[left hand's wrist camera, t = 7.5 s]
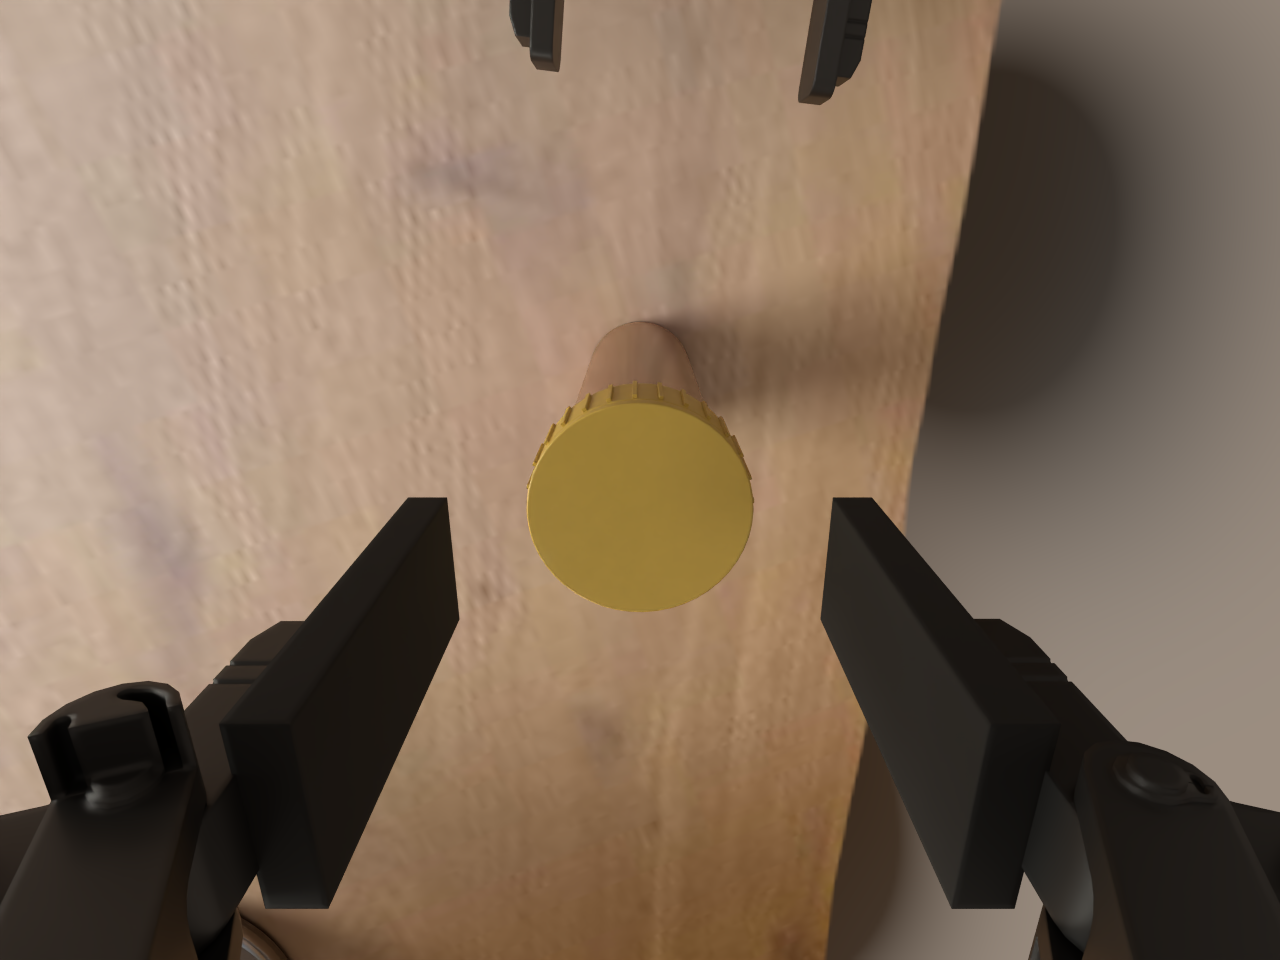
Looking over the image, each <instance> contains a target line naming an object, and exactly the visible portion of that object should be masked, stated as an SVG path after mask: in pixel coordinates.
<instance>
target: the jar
mask: <svg viewBox="0 0 1280 960" xmlns="http://www.w3.org/2000/svg"><path fill="white" fill-rule="evenodd" d="M633 381H637V383H644V384H656V385H657V383H658V382H660V383H662V386H666V387H670V388H673V389H676V390H679V391H681V389H684V390H685V391H686V394H688V395H690V396H692V397H693V398H695V399H697V400H698V401H700V402H702V401H703V398H702V395H701V392H700V390H699V387H698V384H697V381H696V378H695V375H694V373H693V370H692V367H691V364H690V361H689V358H688V356H687V353H686V351H685V349H684V347H683V345H682V344H681V342H680V341H679V340H678V339H677V338H676V336H675V335H673V334H672V333H671V332H670V331H668V330H667V329H665V328H663V327H661V326H659V325H656V324H653V323H648V322H632V323H628V324H624V325H621V326H619V327H617V328H615V329H613V330H612V331H610V332H609V333H608V334H607V335H606V336H605V337H603V339H602V340H601V341H600V342H599V344H598V345H597V347H596V349H595V351H594V353H593V355H592V358H591V361H590V364H589V367H588V370H587V372H586V375H585V378H584V381H583V384H582V387H581V389H580V392H579V395H578V398H577V401H576V404H578V403H579V402H580V401H582V400H583V399H585V396H586V394H588V393H590V394H591V395H592V394H594V393H596V392H599V391H601V390H604V389H607V388H608V386H609V385H611V384H613V387H614V386H619V385H623V384H633ZM576 404H575V405H576Z"/></svg>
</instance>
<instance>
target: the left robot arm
mask: <svg viewBox="0 0 1280 960" xmlns="http://www.w3.org/2000/svg"><path fill="white" fill-rule="evenodd" d="M458 621H459V610H458V600H457V590H456V581H455V571H454V561H453V551H452V542H451V532H450V522H449V512H448V502H447V498H407V500H406V501H405V502H404V503H403V504H402V505H401V507H400V508H399V509H398V510H397V511H396V513H395V514H394V515H393V516H392V517H391V519H390V520H389V521H388V522H387V523H386V525H385V526H384V527H383V528H382V529H381V531H380V532H379V533H378V534H377V535H376V537H375V538H374V539H373V540H372V541H371V542H370V544H369V545H368V546H367V547H366V548H365V550H364V551H363V552H362V553H361V554H360V556H359V557H358V558H357V559H356V560H355V562H354V563H353V564H352V565H351V566H350V568H349V569H348V570H347V571H346V572H345V574H344V575H343V576H342V577H341V578H340V579H339V581H338V582H337V583H336V584H335V585H334V587H333V588H332V589H331V590H330V591H329V593H328V594H327V595H326V596H325V597H324V599H323V600H322V601H321V602H320V603H319V605H318V606H317V607H316V608H315V609H314V611H313V612H312V613H311V614H310V615H309V616H308V618H307V619H306V620H305V621H280V622H279V623H277V624H275V625H274V626H272V627H270V628H269V629H267V630H266V631H264V632H262V633H261V634H259V635H257V636H256V637H254V638H252V639H251V640H250V641H249V642H248V643H247V644H246V645H245V646H244V647H243V648H242V649H241V650H240V651H239V652H238V654H237V655H236V656H235V657H234V658H233V659H232V660H231V661H230V666H225V668H224V669H223V670H222V671H221V672H220V673H219V674H218V675H217V676H216V677H215V678H214V679H213V684H209V685H208V686H207V687H206V688H205V689H204V690H203V691H202V692H201V693H200V694H199V695H198V697H197V698H196V699H195V700H194V701H193V702H192V703H191V704H190V705H189V706H188V707H187V708H186V709H185V711H184V709H183V705H182V701H181V698H180V694H179V692H178V691H177V690H175V689H174V688H173V687H171V686H170V685H169V684H165V683H158V682H151V681H144V682H135V683H125V684H120V685H117V686H113V687H109V688H106V689H102V690H99V691H95V692H93V693H90V694H88V695H86V696H84V697H81V698H79V699H77V700H75V701H73V702H70V703H68V704H66V705H65V706H63V707H61V708H60V709H58V710H57V711H55V712H54V713H52V714H51V715H49V716H48V717H46V718H45V719H43V720H42V721H41V722H40V724H39V725H38V726H37V727H36V728H35V729H34V730H33V731H32V732H31V733H30V735H29V736H28V739H29V742H30V745H31V747H32V750H33V753H34V755H35V758H36V761H37V764H38V766H39V769H40V772H41V774H42V777H43V780H44V782H45V785H46V788H47V790H48V793H49V796H50V799H51V803H50V804H49V805H46V806H41V807H37V808H32V809H28V810H23V811H19V812H14V813H10V814H5V815H1V816H0V960H288V959H287V958H286V956H285V955H284V953H283V952H282V951H281V950H280V948H279V947H278V946H277V945H276V944H275V943H274V942H273V941H272V940H271V939H270V938H269V937H268V936H267V935H266V934H264V933H263V932H262V931H261V930H259V929H258V928H257V927H255V926H254V925H252V924H251V923H249V922H248V921H246V920H244V919H243V918H241V917H240V914H239V911H238V907H237V906H238V905H239V903H240V901H241V900H242V898H243V896H244V894H245V893H246V891H247V889H248V888H249V886H250V884H251V882H252V881H253V879H254V877H255V876H256V874H257V877H258V881H259V885H260V889H261V893H262V897H263V901H264V905H265V909H328V908H329V906H330V904H331V902H332V899H333V897H334V895H335V893H336V891H337V888H338V886H339V884H340V882H341V880H342V877H343V875H344V873H345V871H346V869H347V866H348V864H349V862H350V860H351V857H352V855H353V853H354V851H355V849H356V846H357V844H358V842H359V840H360V838H361V835H362V833H363V831H364V829H365V827H366V824H367V822H368V820H369V818H370V816H371V813H372V811H373V809H374V807H375V805H376V802H377V800H378V798H379V796H380V793H381V791H382V789H383V787H384V785H385V782H386V780H387V778H388V776H389V774H390V771H391V769H392V767H393V765H394V763H395V760H396V758H397V756H398V754H399V752H400V749H401V747H402V745H403V743H404V741H405V738H406V736H407V734H408V732H409V729H410V727H411V725H412V723H413V721H414V718H415V716H416V714H417V712H418V710H419V707H420V705H421V703H422V701H423V699H424V696H425V694H426V692H427V690H428V688H429V685H430V683H431V681H432V679H433V677H434V674H435V672H436V670H437V668H438V665H439V663H440V661H441V659H442V657H443V654H444V652H445V650H446V648H447V646H448V643H449V641H450V639H451V637H452V635H453V632H454V630H455V628H456V626H457V624H458ZM821 621H822V624H823V626H824V628H825V630H826V632H827V635H828V637H829V639H830V641H831V643H832V646H833V648H834V650H835V652H836V654H837V657H838V659H839V661H840V663H841V665H842V668H843V670H844V672H845V674H846V677H847V679H848V681H849V683H850V685H851V688H852V690H853V692H854V694H855V696H856V699H857V701H858V703H859V705H860V707H861V710H862V712H863V714H864V716H865V718H866V721H867V723H868V725H869V727H870V729H871V732H872V734H873V736H874V738H875V740H876V743H877V745H878V747H879V749H880V752H881V754H882V756H883V758H884V760H885V763H886V765H887V767H888V769H889V771H890V773H891V776H892V778H893V780H894V782H895V785H896V787H897V789H898V791H899V793H900V796H901V798H902V800H903V802H904V805H905V807H906V809H907V811H908V813H909V816H910V818H911V820H912V822H913V824H914V826H915V829H916V831H917V833H918V835H919V838H920V840H921V842H922V844H923V846H924V849H925V851H926V853H927V855H928V857H929V860H930V862H931V864H932V866H933V869H934V871H935V873H936V875H937V877H938V879H939V882H940V884H941V886H942V888H943V891H944V893H945V895H946V897H947V899H948V901H949V904H950V906H951V908H952V909H1014V908H1015V905H1016V901H1017V897H1018V893H1019V889H1020V885H1021V881H1022V877H1023V873H1024V872H1025V874H1026V875H1027V877H1028V879H1029V880H1030V882H1031V884H1032V886H1033V887H1034V889H1035V891H1036V892H1037V894H1038V896H1039V897H1040V899H1041V901H1042V902H1043V907H1042V911H1041V914H1040V918H1039V922H1038V925H1037V929H1036V933H1035V936H1034V940H1033V944H1032V947H1031V951H1030V955H1029V959H1028V960H1280V812H1276V811H1272V810H1267V809H1263V808H1258V807H1253V806H1249V805H1244V804H1240V803H1235V802H1232V801H1229V799H1228V798H1227V797H1226V796H1225V794H1224V793H1223V792H1222V790H1221V789H1220V788H1219V786H1218V785H1217V784H1216V783H1215V782H1214V781H1213V780H1212V779H1211V778H1209V777H1208V776H1207V775H1205V774H1204V773H1203V772H1201V771H1200V770H1199V769H1198V768H1196V767H1195V766H1194V765H1192V764H1190V763H1188V762H1186V761H1184V760H1182V759H1180V758H1178V757H1176V756H1174V755H1173V754H1171V753H1169V752H1167V751H1164V750H1161V749H1158V748H1154V747H1151V746H1148V745H1145V744H1142V743H1138V742H1130V741H1127V740H1126V739H1125V738H1124V737H1123V736H1122V735H1121V734H1120V733H1119V732H1118V731H1117V730H1116V728H1115V727H1114V726H1113V725H1112V724H1111V723H1110V722H1109V721H1108V720H1107V719H1106V718H1105V717H1104V716H1103V715H1102V714H1101V712H1100V711H1099V710H1098V709H1097V708H1096V707H1095V706H1094V705H1093V704H1092V703H1091V702H1090V701H1089V700H1088V699H1087V698H1086V696H1085V695H1084V694H1083V693H1082V692H1081V691H1080V690H1079V689H1078V688H1077V687H1076V686H1075V685H1074V684H1073V683H1072V682H1068V680H1067V676H1066V675H1065V674H1064V673H1063V672H1062V671H1061V670H1060V669H1059V668H1058V667H1057V665H1056V664H1055V663H1051V662H1050V658H1049V657H1048V656H1047V655H1046V654H1045V653H1044V652H1043V651H1042V649H1041V648H1040V647H1039V646H1038V645H1037V644H1036V643H1035V642H1034V641H1033V640H1032V639H1031V638H1030V637H1029V636H1027V635H1025V634H1024V633H1022V632H1020V631H1019V630H1017V629H1015V628H1014V627H1012V626H1010V625H1009V624H1007V623H1006V622H1004V621H1002V620H1001V619H973V618H972V617H971V615H970V614H969V613H968V612H967V611H966V609H965V608H964V607H963V606H962V605H961V603H960V602H959V601H958V600H957V599H956V597H955V596H954V595H953V594H952V593H951V591H950V590H949V589H948V588H947V587H946V585H945V584H944V583H943V582H942V581H941V580H940V578H939V577H938V576H937V575H936V574H935V572H934V571H933V570H932V569H931V568H930V566H929V565H928V564H927V563H926V562H925V560H924V559H923V558H922V557H921V556H920V554H919V553H918V552H917V551H916V550H915V548H914V547H913V546H912V545H911V544H910V542H909V541H908V540H907V539H906V538H905V537H904V535H903V534H902V533H901V532H900V531H899V529H898V528H897V527H896V526H895V525H894V523H893V522H892V521H891V520H890V519H889V517H888V516H887V515H886V514H885V513H884V511H883V510H882V509H881V508H880V507H879V505H878V504H877V503H876V502H875V501H874V500H873V498H833V502H832V512H831V522H830V532H829V541H828V551H827V561H826V571H825V581H824V590H823V600H822V610H821Z"/></svg>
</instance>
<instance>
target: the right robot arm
mask: <svg viewBox="0 0 1280 960" xmlns="http://www.w3.org/2000/svg"><path fill="white" fill-rule="evenodd" d="M871 3H872V0H814V1H813V7H812V13H811V19H810V25H809V31H808V37H807V43H806V50H805V56H804V62H803V68H802V74H801V80H800V86H799V93H798V102H799V103H807V104H815V105H821V104H823V103H824V102H826V101H827V100H829V99H830V98H831V97H832V94H833V92H834V89H835V86H840V85H841V84H843V83H844V82H846V81H847V80H849V79H850V78H851V77H852V75H853V73H854V71H855V70H856V68H857V66H858V64H859V62H860V61H861V56H862V50H863V45H864V38H865V34H866V29H867V22H868V19H869V13H870V8H871ZM563 11H564V0H510V9H509V16H510V19H511V23H512V26H513V30H514V33H515V36H516V37H517V39H518V40H519V42H520V43H521V45H522V46H523V47H530V58H531V61H532V63H533V64H534V66H535V67H536V69H538V70H546V71H554V72H559V69H560V61H561V45H562V28H563Z"/></svg>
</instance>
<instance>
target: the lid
mask: <svg viewBox="0 0 1280 960" xmlns="http://www.w3.org/2000/svg"><path fill="white" fill-rule="evenodd" d="M743 457H744V455H743V453H742V451H741V448H740V446H739V444H738V442H737V439H736V437H735V435H733V436H731V435H730V433H729V431H728V429H727V426H726V424H725V422H724V419H723V418H722V417H721V416H720V417H719V418H718V417H717V416H716V415H715V414H714V413H713V412H712V411H711V410H710V409H709V408H708V406H707V403H706V402H705V401H702V402H700V401H698V400H697V399H695V398H693V397H692V396H690V395H688V394H686V391H685V390H684V389H681V391H679V390H676V389H673V388H670V387H666V386H662V383H660V382H658V383H657V385H656V384H644V383H637V381H633V384H623V385H619V386H614V387H613V384H611V385H609V386H608V388H607V389H604V390H601V391H599V392H596V393H594V394H592V395H591V394H590V393H588V394H586V396H585V399H583V400H582V401H580V402H579V403H578V404H576V405H575V406H573V407H572V408H571V407H570V406H569V407H568V408H567V409H566V411H565V414H564V416H563V417H562V418H561V419H560V420H559V422H558V423H557V424H556V425H555V424H554V423H553V424H552V426H551V428H550V430H549V432H548V435H547V437H546V439H545V442H544V444H541V446H540V449H539V451H538V453H537V455H536V458H535V460H534V462H533V466H535V468H534V470H533V472H532V475H531V477H530V479H529V482H528V484H527V489H528V496H527V519H528V525H529V530H530V534H531V537H532V540H533V543H534V545H535V547H536V549H537V552H538V554H539V555H540V557H541V559H542V560H543V562H544V563H545V565H546V566H547V568H548V569H549V570H550V571H551V572H552V573H553V575H554V576H555V577H556V578H557V579H558V580H559V581H560V582H562V583H563V584H564V585H565V586H566V587H567V588H569V589H570V590H572V591H573V592H574V593H576V594H577V595H579V596H581V597H583V598H585V599H587V600H588V601H591V602H593V603H596V604H598V605H601V606H604V607H608V608H611V609H615V610H622V611H629V612H649V611H659V610H664V609H669V608H673V607H676V606H679V605H682V604H685V603H687V602H689V601H691V600H693V599H696V598H697V597H699V596H701V595H702V594H704V593H706V592H707V591H709V590H710V589H711V588H713V587H714V586H715V585H716V584H718V583H719V582H720V581H721V580H722V579H723V578H724V577H725V576H726V575H727V574H728V573H729V571H730V570H731V569H732V567H733V566H734V565H735V563H736V562H737V561H738V559H739V557H740V555H741V554H742V552H743V550H744V548H745V545H746V543H747V540H748V538H749V534H750V530H751V526H752V519H753V503H754V498H753V494H752V489H751V483H750V480H751V479H752V478H751V474H750V472H749V470H748V468H747V465H746V463H745V461H744V458H743Z"/></svg>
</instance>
